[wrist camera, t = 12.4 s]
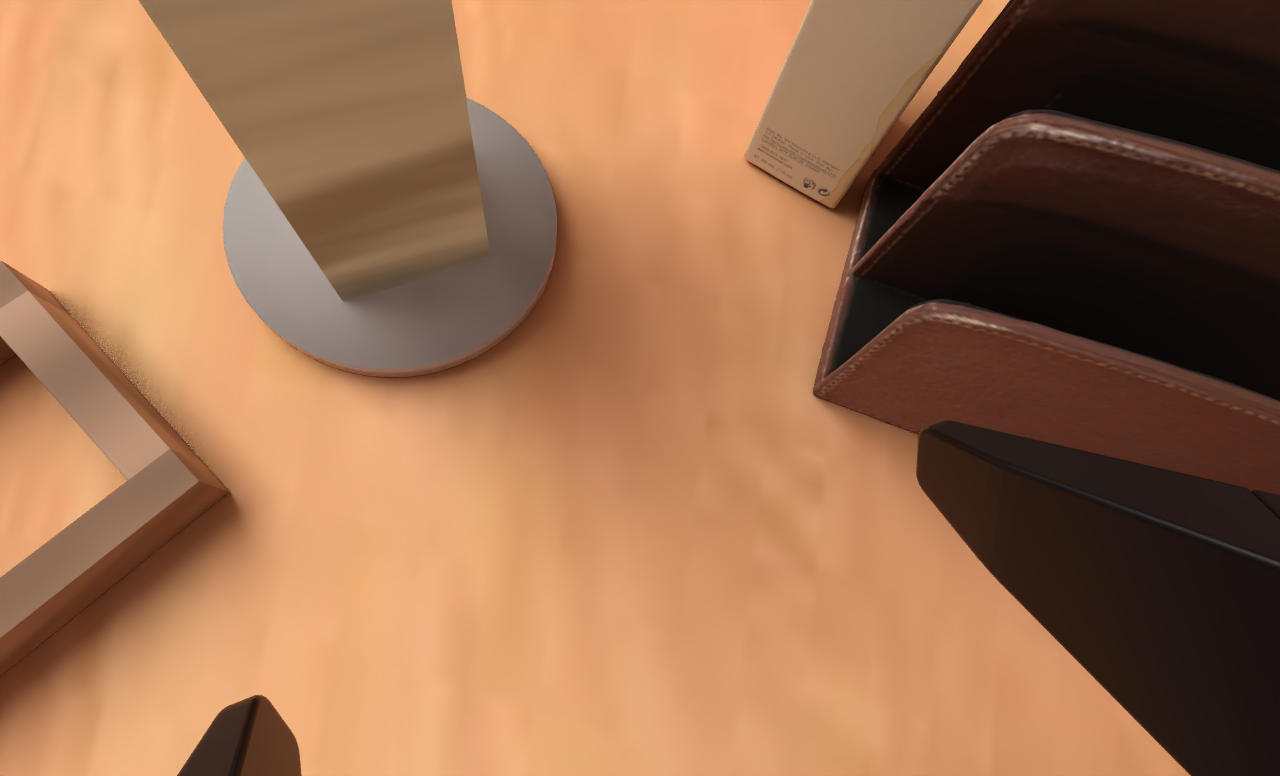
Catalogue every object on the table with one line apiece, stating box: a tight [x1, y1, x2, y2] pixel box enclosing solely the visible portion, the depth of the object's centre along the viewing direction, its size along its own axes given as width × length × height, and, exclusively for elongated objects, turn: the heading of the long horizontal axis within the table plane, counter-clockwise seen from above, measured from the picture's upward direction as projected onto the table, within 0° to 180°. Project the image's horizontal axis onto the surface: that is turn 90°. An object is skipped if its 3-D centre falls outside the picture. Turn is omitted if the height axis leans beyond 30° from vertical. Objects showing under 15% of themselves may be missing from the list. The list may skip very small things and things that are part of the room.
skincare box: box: [744, 0, 983, 208], centre depth 22 cm, size 6×4×12 cm
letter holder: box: [813, 0, 1280, 495], centre depth 20 cm, size 10×20×14 cm, turn 71°
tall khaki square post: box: [139, 0, 491, 301], centre depth 17 cm, size 5×5×13 cm
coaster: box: [223, 98, 557, 377], centre depth 24 cm, size 11×11×1 cm
